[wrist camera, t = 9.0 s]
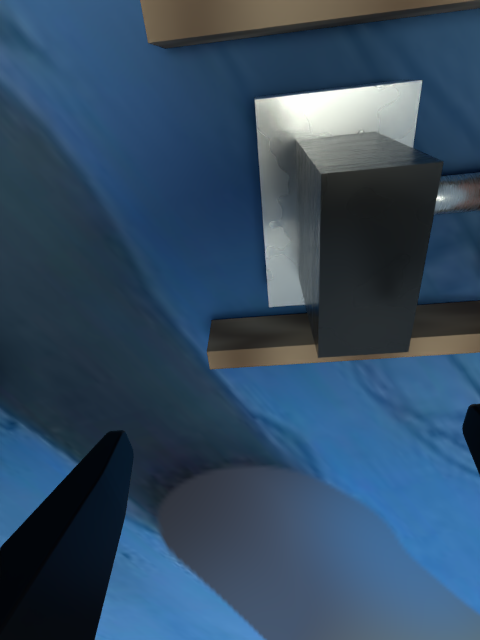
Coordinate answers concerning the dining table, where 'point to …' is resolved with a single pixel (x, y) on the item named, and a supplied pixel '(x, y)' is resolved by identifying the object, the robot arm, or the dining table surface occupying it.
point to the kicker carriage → (351, 210)
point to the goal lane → (284, 17)
